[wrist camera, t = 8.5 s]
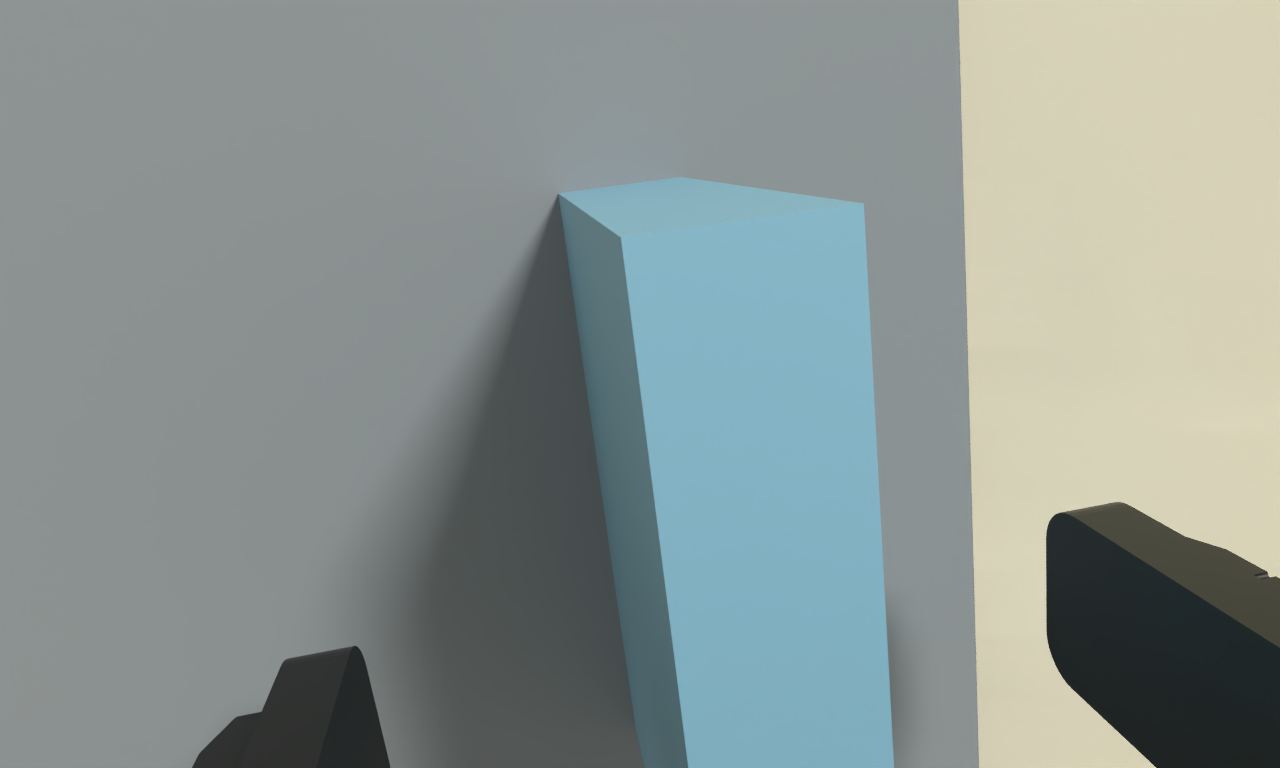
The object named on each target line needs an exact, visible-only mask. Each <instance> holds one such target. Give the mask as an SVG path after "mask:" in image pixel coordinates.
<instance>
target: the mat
mask: <svg viewBox="0 0 1280 768" xmlns="http://www.w3.org/2000/svg"><path fill="white" fill-rule="evenodd" d="M677 177H685V178H692V179H699V180H706V181H713V182H720V183H727V184H733V185H740V186H747V187H754V188H761V189H768V190H775V191H782V192H789V193H796V194H802V195H809V196H816V197H823V198H830V199H837V200H844V201H851V202H858V203H864V215H865V234H866V253H867V271H868V290H869V309H870V327H871V346H872V365H873V383H874V402H875V421H876V439H877V458H878V477H879V495H880V514H881V533H882V551H883V570H884V588H885V607H886V626H887V644H888V663H889V682H890V700H891V719H892V738H893V756H894V768H979V753H978V716H977V679H976V642H975V605H974V568H973V531H972V494H971V456H970V419H969V382H968V345H967V308H966V271H965V234H964V197H963V160H962V123H961V86H960V49H959V12H958V0H0V768H192V767H193V765H194V763H195V761H196V759H197V757H198V755H199V753H200V752H201V751H202V750H203V749H204V748H205V747H206V746H207V745H208V744H209V743H210V742H211V741H212V740H213V739H214V738H215V737H216V736H217V735H218V734H219V733H220V732H221V731H222V730H223V729H224V728H225V727H226V726H227V725H228V724H229V723H230V722H231V721H232V720H233V719H234V718H235V717H237V716H242V715H247V714H253V713H258V712H262V709H263V707H264V705H265V702H266V700H267V697H268V695H269V693H270V690H271V688H272V686H273V683H274V681H275V678H276V676H277V674H278V671H279V669H280V667H281V665H282V663H283V661H284V660H285V659H288V658H293V657H299V656H304V655H309V654H314V653H320V652H325V651H330V650H335V649H341V648H346V647H351V646H357V647H358V648H359V649H360V650H361V652H362V654H363V657H364V660H365V663H366V666H367V670H368V675H369V679H370V683H371V687H372V691H373V696H374V700H375V704H376V708H377V712H378V717H379V721H380V725H381V729H382V733H383V738H384V742H385V746H386V750H387V754H388V759H389V763H390V768H645V767H644V763H643V759H642V755H641V750H640V746H639V742H638V738H637V734H636V729H635V722H634V715H633V708H632V701H631V694H630V687H629V680H628V673H627V666H626V660H625V653H624V646H623V639H622V632H621V625H620V618H619V611H618V604H617V597H616V590H615V583H614V576H613V569H612V562H611V555H610V549H609V542H608V535H607V528H606V521H605V514H604V507H603V500H602V493H601V486H600V479H599V472H598V465H597V458H596V451H595V445H594V438H593V431H592V424H591V417H590V410H589V403H588V396H587V389H586V382H585V375H584V368H583V361H582V354H581V347H580V341H579V334H578V327H577V320H576V313H575V306H574V299H573V292H572V285H571V278H570V271H569V264H568V257H567V250H566V243H565V237H564V230H563V223H562V216H561V209H560V202H559V195H558V193H565V192H573V191H580V190H588V189H595V188H602V187H610V186H617V185H625V184H632V183H640V182H647V181H655V180H662V179H670V178H677Z"/></svg>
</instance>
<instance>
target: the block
mask: <svg viewBox="0 0 1280 768" xmlns="http://www.w3.org/2000/svg"><path fill="white" fill-rule="evenodd" d="M558 195H559V202H560V209H561V216H562V223H563V230H564V237H565V243H566V250H567V257H568V264H569V271H570V278H571V285H572V292H573V299H574V306H575V313H576V320H577V327H578V334H579V341H580V347H581V354H582V361H583V368H584V375H585V382H586V389H587V396H588V403H589V410H590V417H591V424H592V431H593V438H594V445H595V451H596V458H597V465H598V472H599V479H600V486H601V493H602V500H603V507H604V514H605V521H606V528H607V535H608V542H609V549H610V555H611V562H612V569H613V576H614V583H615V590H616V597H617V604H618V611H619V618H620V625H621V632H622V639H623V646H624V653H625V660H626V666H627V673H628V680H629V687H630V694H631V701H632V708H633V715H634V722H635V729H636V734H637V738H638V742H639V746H640V750H641V755H642V759H643V763H644V767H645V768H894V756H893V738H892V719H891V700H890V682H889V663H888V644H887V626H886V607H885V588H884V570H883V551H882V533H881V514H880V495H879V477H878V458H877V439H876V421H875V402H874V383H873V365H872V346H871V327H870V309H869V290H868V271H867V253H866V234H865V215H864V203H858V202H851V201H844V200H837V199H830V198H823V197H816V196H809V195H802V194H796V193H789V192H782V191H775V190H768V189H761V188H754V187H747V186H740V185H733V184H727V183H720V182H713V181H706V180H699V179H692V178H685V177H677V178H670V179H662V180H655V181H647V182H640V183H632V184H625V185H617V186H610V187H602V188H595V189H588V190H580V191H573V192H565V193H558Z"/></svg>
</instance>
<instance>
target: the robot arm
mask: <svg viewBox="0 0 1280 768" xmlns="http://www.w3.org/2000/svg"><path fill="white" fill-rule="evenodd" d="M1046 581H1047V639H1048V644H1049V648H1050V652H1051V655H1052V658H1053V660H1054V662H1055V665H1056V667H1057V669H1058V670H1059V672H1060V674H1061V675H1062V677H1063V679H1064V680H1065V681H1066V683H1067V684H1068V685H1069V686H1070V687H1071V688H1072V689H1073V690H1074V691H1075V692H1076V693H1077V694H1078V695H1079V696H1081V697H1082V698H1083V699H1084V700H1085V701H1086V702H1087V703H1088V704H1089V705H1090V706H1091V707H1092V708H1093V709H1094V710H1095V711H1097V712H1098V713H1099V714H1100V715H1101V716H1102V717H1103V718H1104V719H1105V720H1106V721H1107V722H1108V723H1109V724H1110V725H1111V726H1113V727H1114V728H1115V729H1116V730H1117V731H1118V732H1119V733H1120V734H1121V735H1122V736H1123V737H1124V738H1125V739H1126V740H1127V741H1129V742H1130V743H1131V744H1132V745H1133V746H1134V747H1135V748H1136V749H1137V750H1138V751H1139V752H1140V753H1141V754H1142V755H1144V756H1145V757H1146V758H1147V759H1148V760H1149V761H1150V762H1151V763H1152V764H1153V765H1154V766H1155V767H1156V768H1280V579H1279V578H1278V577H1271V578H1270V577H1269V576H1268V573H1267V571H1265V570H1263V569H1261V568H1259V567H1257V566H1256V565H1254V564H1252V563H1250V562H1248V561H1246V560H1245V559H1243V558H1241V557H1239V556H1237V555H1236V554H1234V553H1232V552H1230V551H1228V550H1226V549H1223V548H1220V547H1217V546H1213V545H1210V544H1207V543H1204V542H1200V541H1197V540H1194V539H1191V538H1188V537H1185V536H1183V535H1181V534H1179V533H1178V532H1176V531H1174V530H1172V529H1170V528H1169V527H1167V526H1165V525H1163V524H1162V523H1160V522H1158V521H1156V520H1154V519H1153V518H1151V517H1149V516H1147V515H1145V514H1144V513H1142V512H1140V511H1138V510H1137V509H1135V508H1133V507H1131V506H1129V505H1127V504H1125V503H1121V502H1115V503H1109V504H1104V505H1099V506H1094V507H1088V508H1083V509H1078V510H1073V511H1067V512H1062V513H1058V514H1056V515H1055V516H1053V517H1052V519H1051V520H1050V522H1049V525H1048V528H1047V536H1046ZM192 768H390V763H389V759H388V754H387V750H386V746H385V742H384V738H383V733H382V729H381V725H380V721H379V717H378V712H377V708H376V704H375V700H374V696H373V691H372V687H371V683H370V679H369V675H368V670H367V666H366V663H365V660H364V657H363V654H362V652H361V650H360V649H359V648H358V647H357V646H351V647H346V648H341V649H335V650H330V651H325V652H320V653H314V654H309V655H304V656H299V657H293V658H288V659H285V660H284V661H283V663H282V665H281V667H280V669H279V671H278V674H277V676H276V678H275V681H274V683H273V686H272V688H271V690H270V693H269V695H268V697H267V700H266V702H265V705H264V707H263V709H262V712H258V713H253V714H247V715H242V716H237V717H235V718H234V719H233V720H232V721H231V722H230V723H229V724H228V725H227V726H226V727H225V728H224V729H223V730H222V731H221V732H220V733H219V734H218V735H217V736H216V737H215V738H214V739H213V740H212V741H211V742H210V743H209V744H208V745H207V746H206V747H205V748H204V749H203V750H202V751H201V752H200V753H199V755H198V757H197V759H196V761H195V763H194V765H193V767H192Z"/></svg>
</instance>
